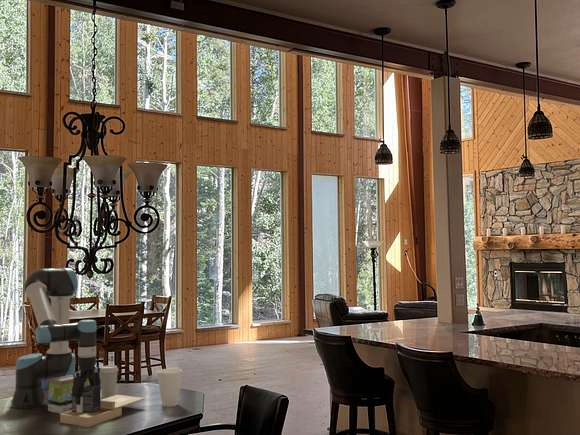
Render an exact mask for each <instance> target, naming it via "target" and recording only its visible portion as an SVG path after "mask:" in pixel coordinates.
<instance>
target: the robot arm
mask: <svg viewBox="0 0 580 435" xmlns="http://www.w3.org/2000/svg"><path fill="white" fill-rule="evenodd" d="M78 286H79V285H78V277H77V273H76V270H74V269H73V268H69V267H59V268H58V267H57V268H39V269H36V270H34V271H33V272H32V273H30V274H29V276H28V277H27V278H26V279H25V282H24V287H23V289H24V293H25V295H26V297H27V298H28V299H29V301H30V304H31V307H32V312H34V317H35V319H36V323H37V325H38V326H37V327H36V328H35V340H36V342H37V343H38V344H49V349H47V351H46V353H45V354H46V355H43V354H42V353H39V352H38V353H29V354H25V355H23V356H20V357H18V358H17V359H16V361H15V368H14V369H15V388H14V389H15V390H14V393H13V396H12V399H11V401H10V406H11V407H12V408H14V409H31V408H36V407H37V408H38V407H41V406H43V405H46V396H45V393H44V390H43V381H49V379H52V378H58V377H63V376H68V375H73V377H74V379H73V389H72V396H75V397H76V405H77V412H80V413H82V412H83V397H81V395H82V392H83V388H84V384H85V381H86V380H87V378H88V379H89V383H90V385H98V386H101V381H100V368H101V367H96V364H97V356H96V355H97V329H98V328H97V327H98V326H97V321H96V320H94V319H82V320H79V321H78V322H73V323H70V309H71V308H70V305H71V304H70V303H71V298H72V297H74V293H75V292H76V291H78V288H79V287H78ZM49 298H50V299H49ZM50 300H51V301H50ZM72 341H73V342H74V341H77V356H78V357H77V361H76V354H75V353H73V352H72V349H71V348H70V347H69V342H72ZM76 362H77V366H78V371H75V368H76ZM82 378H84V379H82ZM78 393H79V394H78Z"/></svg>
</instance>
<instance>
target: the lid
mask: <svg viewBox="0 0 580 435" xmlns="http://www.w3.org/2000/svg"><path fill="white" fill-rule="evenodd" d="M144 400H146V397H139V396H131V395H124V394H115V396H111V397H108V398H105V399H104V398H101V408H108V409H116V408H119V407H122V408H123V407H126V406H128V405H132V404H135V403H137V402H141V401H144Z"/></svg>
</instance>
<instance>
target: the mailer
mask: <svg viewBox="0 0 580 435" xmlns="http://www.w3.org/2000/svg"><path fill="white" fill-rule="evenodd" d="M122 409H123V407H119V408H116V409H108V408H101V409H100V410H98V411H96V412H94V413H80V412H72V411H69V412H65V413H62V414H60V413H59V414H60V416H59V417H60V418H59V419H60V420H59V422H60V423H62V424H69V425H75V426H82V427H92V426H94V425H97V424H100V423H103V422H106V421H109V420H112V419H114V418H118V417H121V416H122V414H123V412H122Z"/></svg>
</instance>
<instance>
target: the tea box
mask: <svg viewBox="0 0 580 435" xmlns="http://www.w3.org/2000/svg"><path fill="white" fill-rule="evenodd" d="M73 379H74V377H73V374H72V375H68V376H63V377H58V378H52V379H49V380H48V381H49V382H48V398H47V399H48V400H47V401H48V402H47V406H48V407H47V411H48V412H52V413H56V414H62V413H65V412H69V411H72V387H73ZM82 379H84V378H82ZM84 385H89V379H88V378H87V380H86V381H85V384H84Z"/></svg>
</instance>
